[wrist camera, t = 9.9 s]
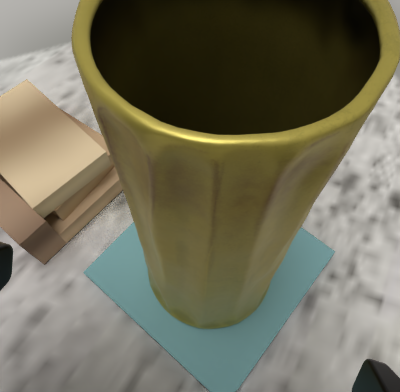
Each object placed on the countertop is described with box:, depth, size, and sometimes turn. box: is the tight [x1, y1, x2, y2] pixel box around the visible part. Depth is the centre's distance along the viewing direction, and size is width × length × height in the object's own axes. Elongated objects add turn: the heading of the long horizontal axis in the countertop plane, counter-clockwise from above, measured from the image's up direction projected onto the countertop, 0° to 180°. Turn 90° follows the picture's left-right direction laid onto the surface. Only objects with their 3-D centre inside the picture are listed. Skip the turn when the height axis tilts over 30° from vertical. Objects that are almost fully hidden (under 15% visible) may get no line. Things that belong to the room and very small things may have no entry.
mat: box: [83, 222, 335, 392], centre depth 19 cm, size 9×9×1 cm
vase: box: [72, 0, 400, 329], centre depth 12 cm, size 6×6×14 cm
